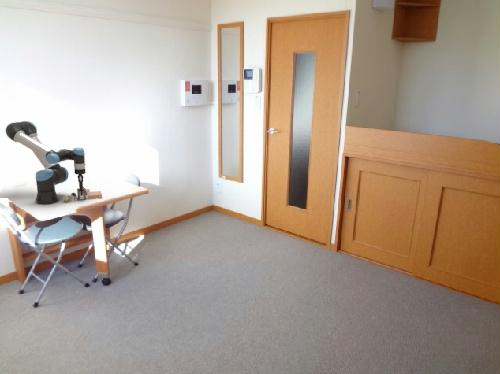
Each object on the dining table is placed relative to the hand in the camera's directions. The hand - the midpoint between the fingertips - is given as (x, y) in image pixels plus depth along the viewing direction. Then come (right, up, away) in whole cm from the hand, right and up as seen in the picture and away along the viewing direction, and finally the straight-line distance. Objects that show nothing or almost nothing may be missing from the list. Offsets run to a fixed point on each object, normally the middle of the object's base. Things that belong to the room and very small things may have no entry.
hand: (81, 197), depth 299 cm
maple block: (-6, -3, -7) cm, 10 cm away
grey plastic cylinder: (-1, +2, +11) cm, 12 cm away
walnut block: (0, 0, 0) cm, 0 cm away
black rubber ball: (-8, +2, +3) cm, 8 cm away
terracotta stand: (+8, +1, +6) cm, 10 cm away
